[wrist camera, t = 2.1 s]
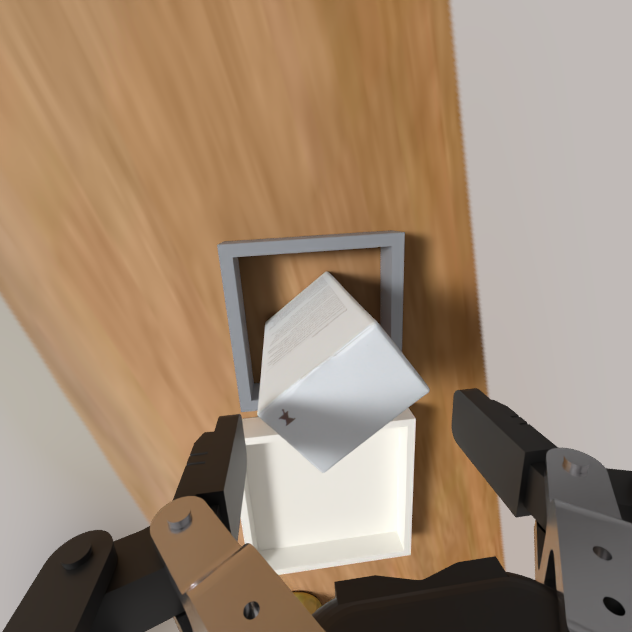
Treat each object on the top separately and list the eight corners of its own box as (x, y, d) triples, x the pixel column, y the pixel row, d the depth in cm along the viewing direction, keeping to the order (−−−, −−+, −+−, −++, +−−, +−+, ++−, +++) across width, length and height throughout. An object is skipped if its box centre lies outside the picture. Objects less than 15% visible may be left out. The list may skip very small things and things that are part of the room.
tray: (232, 419, 26) (228, 440, 24) (404, 400, 27) (415, 418, 25) (252, 550, 30) (250, 578, 28) (400, 529, 32) (410, 554, 29)
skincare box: (301, 361, 25) (319, 479, 14) (264, 321, 24) (250, 416, 13) (363, 311, 25) (435, 392, 13) (328, 267, 24) (374, 317, 12)
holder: (223, 241, 22) (217, 244, 20) (391, 230, 23) (404, 232, 21) (244, 393, 26) (241, 412, 23) (389, 378, 27) (400, 394, 24)
